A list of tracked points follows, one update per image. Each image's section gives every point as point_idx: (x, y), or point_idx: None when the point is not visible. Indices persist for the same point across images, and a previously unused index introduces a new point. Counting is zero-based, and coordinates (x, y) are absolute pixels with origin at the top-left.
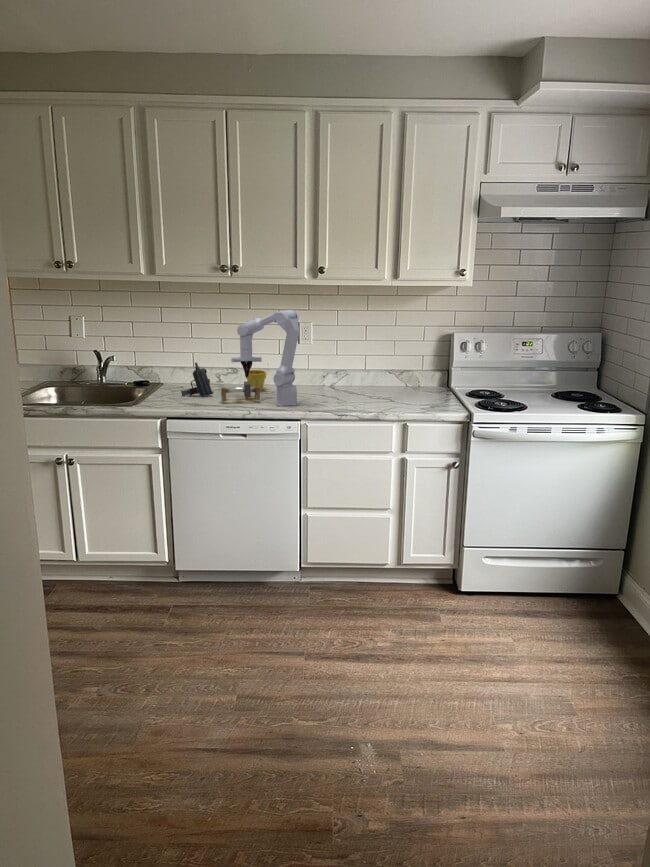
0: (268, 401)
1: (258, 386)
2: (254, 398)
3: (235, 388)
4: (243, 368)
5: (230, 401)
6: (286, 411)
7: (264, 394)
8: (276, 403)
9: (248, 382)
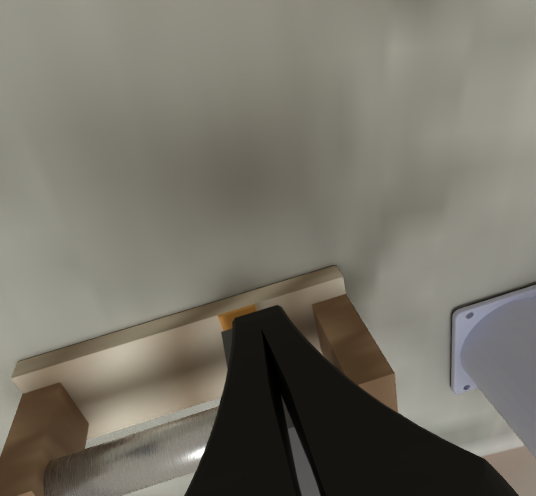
0: (408, 296)
1: (389, 394)
2: (308, 315)
3: (160, 482)
4: (216, 442)
5: (129, 425)
6: (479, 450)
7: (392, 47)
8: (456, 365)
9: (300, 461)
